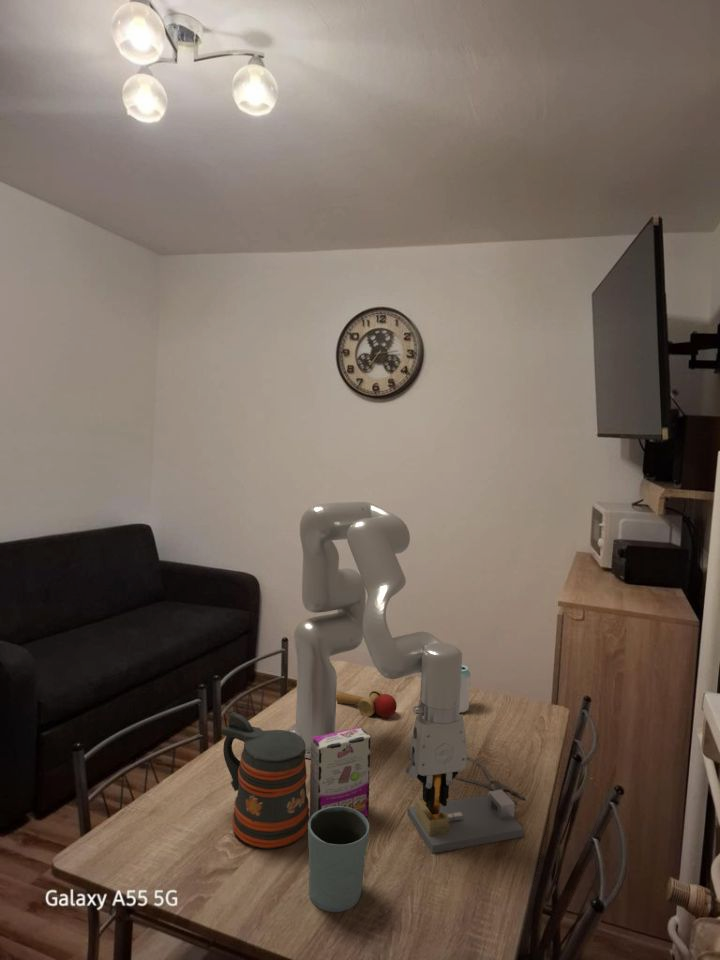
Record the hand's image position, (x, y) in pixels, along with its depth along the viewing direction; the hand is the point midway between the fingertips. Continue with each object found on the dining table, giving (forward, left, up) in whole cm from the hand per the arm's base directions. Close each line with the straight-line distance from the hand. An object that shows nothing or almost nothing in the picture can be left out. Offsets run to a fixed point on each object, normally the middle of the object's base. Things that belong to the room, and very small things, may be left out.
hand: (435, 802), depth 121 cm
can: (+28, +48, -6) cm, 56 cm away
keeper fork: (0, 0, -4) cm, 4 cm away
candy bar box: (-17, +9, -6) cm, 20 cm away
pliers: (+19, +14, -6) cm, 25 cm away
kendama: (+4, +53, -6) cm, 53 cm away
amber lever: (+2, 0, -4) cm, 5 cm away
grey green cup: (-23, -11, -6) cm, 26 cm away
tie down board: (+6, 0, -6) cm, 9 cm away
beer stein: (-32, +11, -6) cm, 34 cm away
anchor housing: (+15, 0, -4) cm, 15 cm away
